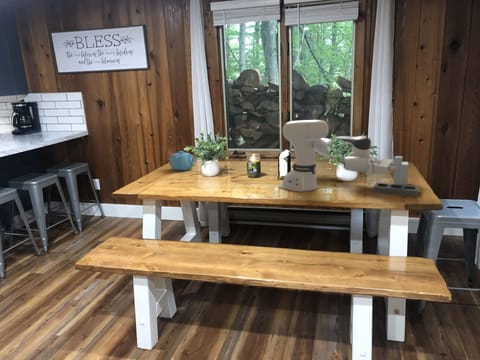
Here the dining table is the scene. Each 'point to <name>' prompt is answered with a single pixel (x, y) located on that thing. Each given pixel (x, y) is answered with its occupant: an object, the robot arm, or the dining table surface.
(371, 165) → the robot arm
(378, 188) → the compartment tray
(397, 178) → the clip
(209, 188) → the dining table surface
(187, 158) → the decorative pot
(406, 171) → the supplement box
